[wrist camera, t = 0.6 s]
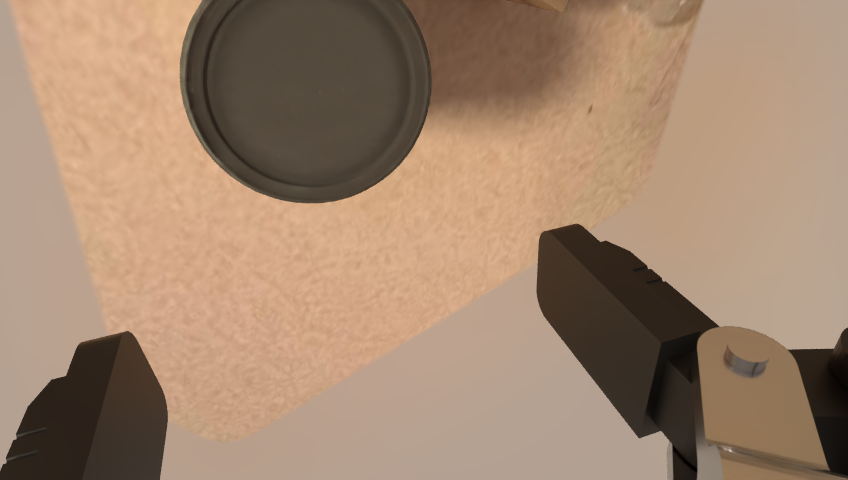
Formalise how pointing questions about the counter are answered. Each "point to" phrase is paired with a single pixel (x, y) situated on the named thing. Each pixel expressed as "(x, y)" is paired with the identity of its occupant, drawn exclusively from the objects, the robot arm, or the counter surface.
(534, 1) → the walnut block
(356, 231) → the counter surface
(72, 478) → the robot arm
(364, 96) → the coffee can
